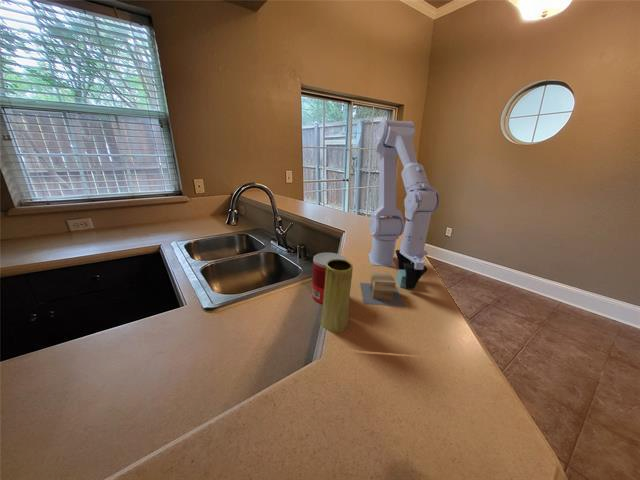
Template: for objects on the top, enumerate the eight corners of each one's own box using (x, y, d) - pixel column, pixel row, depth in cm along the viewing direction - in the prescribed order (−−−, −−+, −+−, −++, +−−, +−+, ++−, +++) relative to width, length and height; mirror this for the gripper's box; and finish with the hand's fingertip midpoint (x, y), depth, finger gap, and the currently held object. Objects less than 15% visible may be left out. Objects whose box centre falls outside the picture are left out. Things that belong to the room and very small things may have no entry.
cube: (396, 281, 73) (398, 269, 71) (410, 282, 72) (412, 270, 71) (399, 288, 69) (402, 276, 67) (414, 289, 69) (416, 277, 67)
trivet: (359, 284, 70) (359, 282, 70) (395, 286, 70) (395, 285, 70) (363, 305, 61) (363, 303, 61) (404, 307, 60) (405, 306, 60)
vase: (351, 318, 56) (357, 261, 51) (344, 336, 50) (351, 274, 45) (325, 312, 57) (329, 255, 52) (316, 328, 52) (319, 268, 47)
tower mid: (371, 280, 67) (372, 271, 66) (389, 281, 66) (391, 272, 66) (373, 290, 62) (375, 281, 61) (394, 291, 62) (395, 282, 61)
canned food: (341, 309, 59) (344, 267, 55) (308, 304, 60) (309, 263, 56) (344, 292, 66) (348, 254, 62) (315, 287, 67) (316, 250, 63)
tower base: (369, 288, 68) (371, 280, 67) (388, 289, 67) (389, 281, 66) (372, 298, 63) (373, 290, 62) (392, 299, 63) (394, 291, 62)
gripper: (441, 246, 58) (429, 296, 63) (421, 228, 72) (412, 269, 77) (411, 245, 59) (401, 294, 63) (396, 226, 72) (389, 268, 77)
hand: (406, 280), depth 70 cm, fingers open, 7 cm apart
